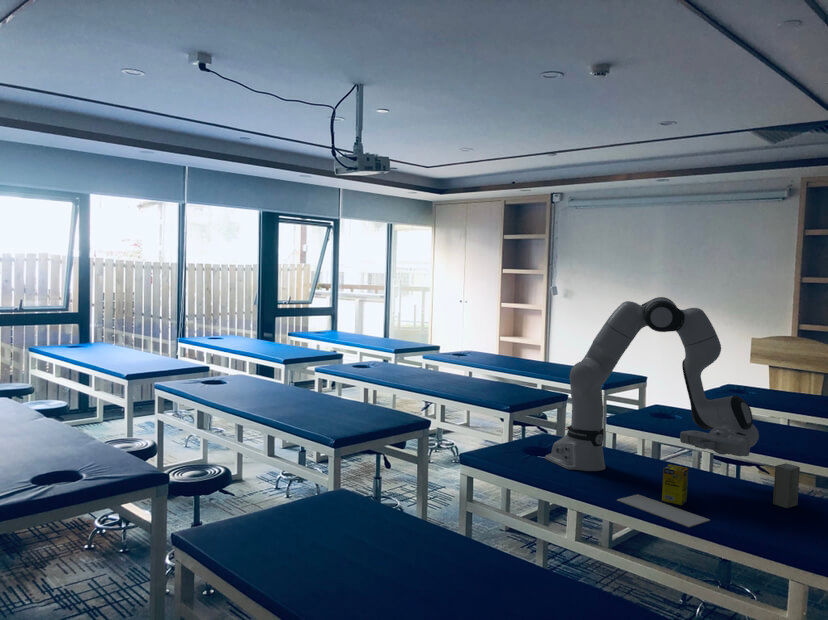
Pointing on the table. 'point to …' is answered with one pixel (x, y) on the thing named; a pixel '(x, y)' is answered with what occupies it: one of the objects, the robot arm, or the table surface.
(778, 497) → the skincare box
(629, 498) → the mat
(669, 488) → the supplement box
